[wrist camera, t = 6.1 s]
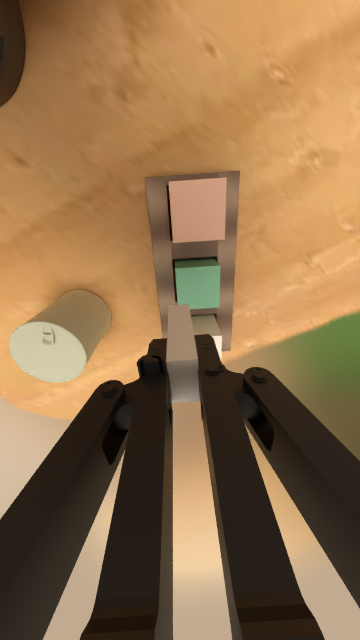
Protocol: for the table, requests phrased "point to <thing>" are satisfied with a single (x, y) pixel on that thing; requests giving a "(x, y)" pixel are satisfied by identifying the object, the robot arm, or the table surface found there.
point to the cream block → (207, 328)
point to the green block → (198, 282)
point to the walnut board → (193, 249)
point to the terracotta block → (198, 209)
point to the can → (61, 337)
